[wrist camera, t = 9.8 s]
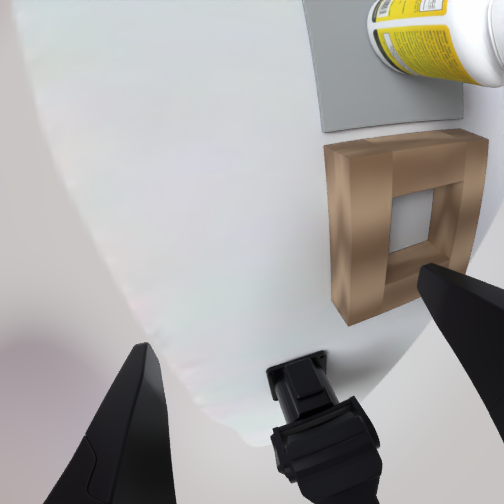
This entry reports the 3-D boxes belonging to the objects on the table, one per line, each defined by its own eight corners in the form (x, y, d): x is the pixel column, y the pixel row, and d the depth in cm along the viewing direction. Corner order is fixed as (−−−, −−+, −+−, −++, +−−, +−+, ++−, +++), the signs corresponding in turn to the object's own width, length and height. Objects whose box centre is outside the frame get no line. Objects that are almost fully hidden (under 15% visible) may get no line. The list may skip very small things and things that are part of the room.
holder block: (444, 258, 29) (464, 276, 26) (331, 300, 27) (348, 326, 25) (459, 128, 21) (488, 139, 18) (323, 145, 20) (349, 159, 17)
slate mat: (460, 117, 21) (463, 118, 20) (321, 131, 19) (324, 132, 19) (443, -30, 13) (446, -30, 13) (288, -60, 11) (290, -62, 11)
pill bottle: (430, 78, 18) (553, 109, 9) (366, 70, 17) (505, 91, 8) (426, 5, 15) (548, 8, 5) (359, -12, 14) (491, -40, 4)
